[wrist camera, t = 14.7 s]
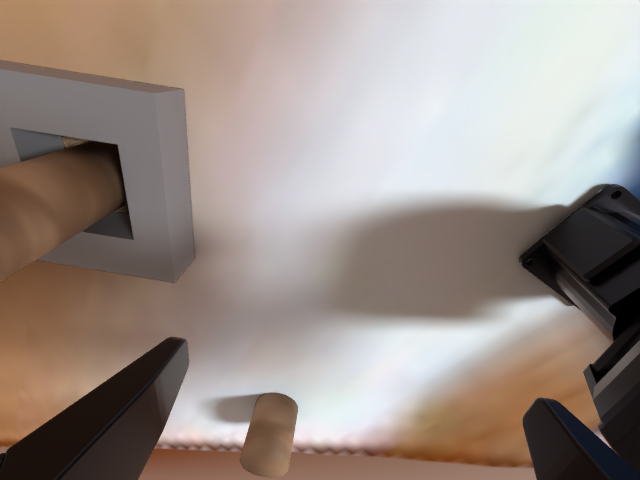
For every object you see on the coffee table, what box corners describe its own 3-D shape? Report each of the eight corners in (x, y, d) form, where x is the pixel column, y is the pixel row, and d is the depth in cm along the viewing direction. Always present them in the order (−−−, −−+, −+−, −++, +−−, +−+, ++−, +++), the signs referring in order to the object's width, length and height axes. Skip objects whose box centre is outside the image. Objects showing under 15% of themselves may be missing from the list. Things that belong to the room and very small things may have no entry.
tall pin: (156, 186, 20) (-107, 352, 9) (112, 210, 22) (-175, 387, 10) (112, 127, 19) (-285, 231, 7) (66, 157, 20) (-342, 290, 8)
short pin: (306, 405, 30) (298, 464, 25) (283, 424, 32) (272, 482, 27) (269, 386, 29) (254, 443, 25) (248, 407, 31) (231, 464, 26)
